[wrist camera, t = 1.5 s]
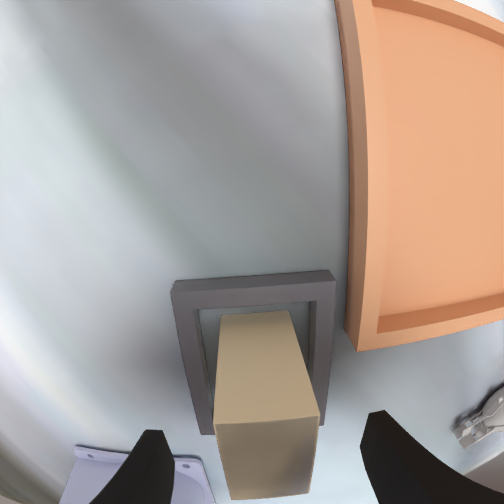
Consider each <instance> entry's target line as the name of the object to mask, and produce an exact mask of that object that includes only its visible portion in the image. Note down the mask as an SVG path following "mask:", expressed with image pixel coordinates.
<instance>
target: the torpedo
mask: <svg viewBox="0 0 504 504" xmlns="http://www.w3.org/2000/svg"><path fill="white" fill-rule="evenodd" d="M481 415H482V417H480V418H479V419H477V420H476V421H474V422H473V421H472V420H474V419H475V418H477V417H479V416H481ZM471 421H472V424H471V425H470V426H469V427H466V424H468V423H469V422H471ZM472 426H474V430H475V434H473V435H472V434H471V428H472ZM452 431H453V433H454V434H455V436H456V437H457V439H459V438H461V437H462V439H461V440H459V442H460V444H461V445H462V447H463V448H464V449H466V448H467V447H469V446H471V445H472V444H474V443H475V442H478V441H480V440H481V439H483V438H484V437H486V436H487V435H489V434H490V433H492V432H502V431H504V386H503V387H502V388H500V389H499V390H497V391H496V392H495V393H493V395H492V396H491V397H490V398H489V399H488V401H487V402H485V404H484V406H483V409H482V410H481V411H480V412H479V413H478V414H476V415H475V416H473V417H472V418H470V419H469V420H467V421H465V423H464V424H462V425H461V426H459V427H458V428H456V429H454V430H452ZM487 431H488V432H487ZM486 432H487V433H486ZM476 436H477V437H480V438H478V439H477V440H475V438H474V437H476Z"/></svg>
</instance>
